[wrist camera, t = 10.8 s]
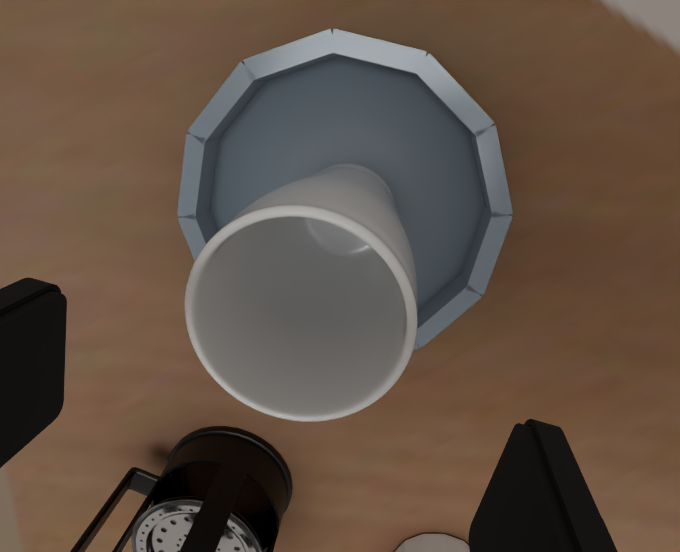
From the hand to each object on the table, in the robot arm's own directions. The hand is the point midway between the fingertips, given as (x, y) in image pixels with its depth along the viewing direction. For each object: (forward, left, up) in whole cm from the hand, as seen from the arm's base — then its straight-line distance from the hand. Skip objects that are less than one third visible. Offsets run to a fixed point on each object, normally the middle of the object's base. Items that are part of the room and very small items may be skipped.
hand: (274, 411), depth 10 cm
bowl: (+1, 0, -20) cm, 20 cm away
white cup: (0, 0, -19) cm, 19 cm away
